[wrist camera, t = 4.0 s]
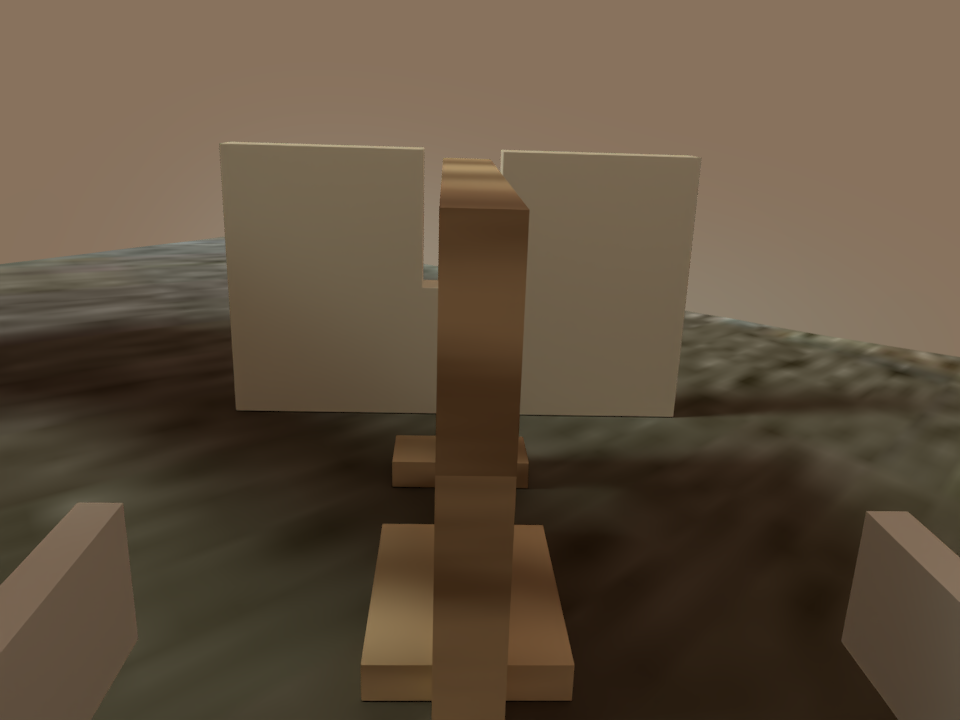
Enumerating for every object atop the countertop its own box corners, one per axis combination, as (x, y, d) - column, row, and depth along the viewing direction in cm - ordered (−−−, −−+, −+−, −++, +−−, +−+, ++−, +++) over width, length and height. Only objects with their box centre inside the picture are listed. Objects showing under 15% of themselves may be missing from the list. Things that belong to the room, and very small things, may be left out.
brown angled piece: (576, 726, 22) (618, 212, 18) (357, 726, 22) (348, 204, 18) (521, 460, 39) (536, 160, 35) (396, 458, 39) (396, 156, 34)
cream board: (236, 410, 44) (219, 143, 40) (245, 397, 46) (229, 141, 42) (673, 416, 45) (701, 157, 41) (663, 404, 47) (690, 155, 43)
